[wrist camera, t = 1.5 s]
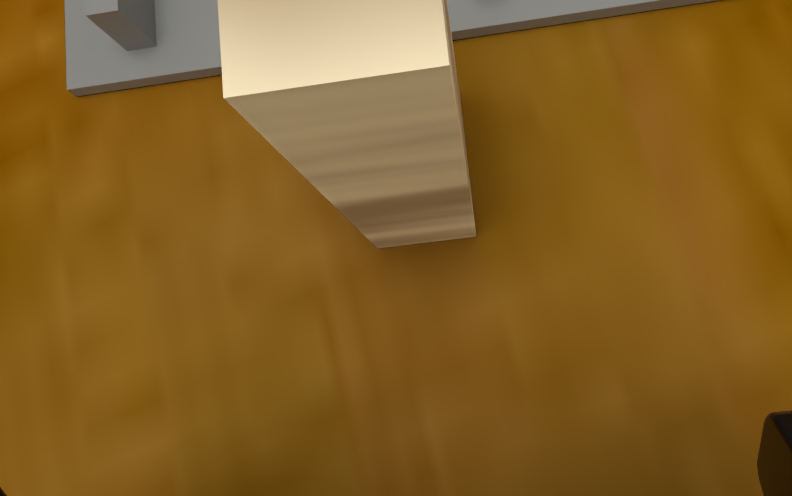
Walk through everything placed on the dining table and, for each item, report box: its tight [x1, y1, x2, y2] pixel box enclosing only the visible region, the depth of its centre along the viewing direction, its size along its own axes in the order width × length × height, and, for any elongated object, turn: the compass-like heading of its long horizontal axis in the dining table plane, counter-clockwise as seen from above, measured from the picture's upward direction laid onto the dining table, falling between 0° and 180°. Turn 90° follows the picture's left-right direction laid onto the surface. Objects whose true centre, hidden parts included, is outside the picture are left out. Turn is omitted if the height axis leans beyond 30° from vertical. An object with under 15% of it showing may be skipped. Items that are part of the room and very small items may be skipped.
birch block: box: [217, 0, 477, 248], centre depth 16 cm, size 4×3×13 cm, turn 6°
